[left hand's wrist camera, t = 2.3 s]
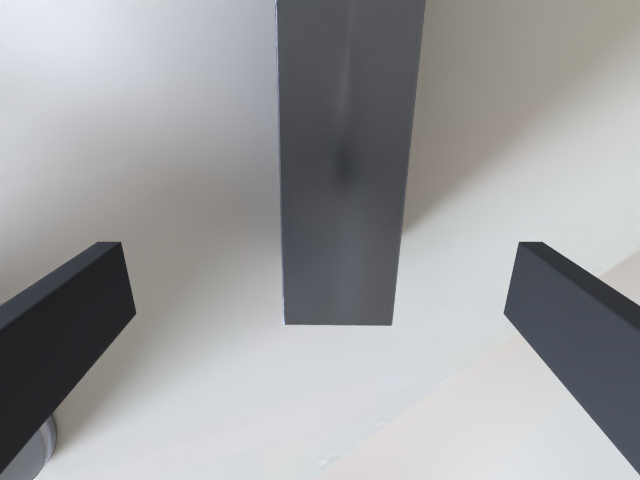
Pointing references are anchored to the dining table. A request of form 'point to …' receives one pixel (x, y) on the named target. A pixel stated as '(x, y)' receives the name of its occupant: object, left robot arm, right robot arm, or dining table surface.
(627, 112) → the dining table surface
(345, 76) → the bar
